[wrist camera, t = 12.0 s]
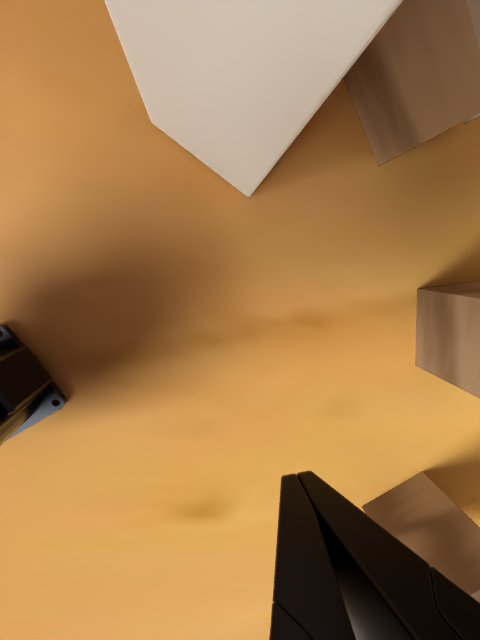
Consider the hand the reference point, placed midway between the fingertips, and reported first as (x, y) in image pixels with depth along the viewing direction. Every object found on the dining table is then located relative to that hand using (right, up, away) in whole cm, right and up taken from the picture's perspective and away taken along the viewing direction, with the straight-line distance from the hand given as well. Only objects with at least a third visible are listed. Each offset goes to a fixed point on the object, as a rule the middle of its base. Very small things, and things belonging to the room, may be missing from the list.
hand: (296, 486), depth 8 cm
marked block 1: (+13, -12, +18) cm, 25 cm away
